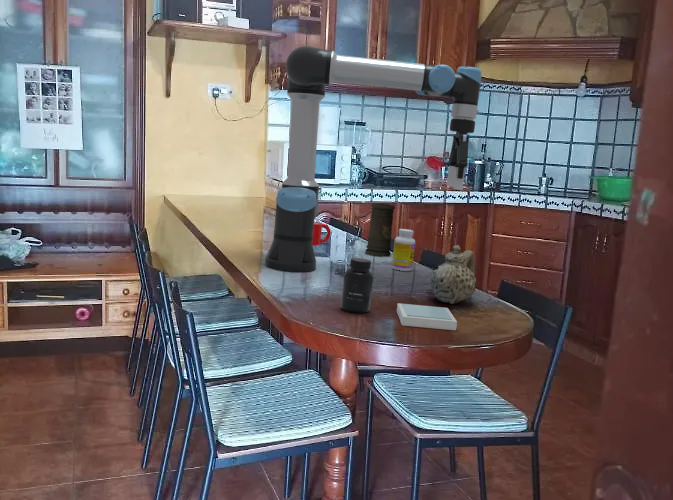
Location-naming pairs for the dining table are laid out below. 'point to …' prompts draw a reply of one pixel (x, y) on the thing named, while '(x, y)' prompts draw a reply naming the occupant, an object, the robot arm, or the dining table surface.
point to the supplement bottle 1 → (357, 286)
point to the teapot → (455, 277)
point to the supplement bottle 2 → (403, 251)
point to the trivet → (426, 316)
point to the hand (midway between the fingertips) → (454, 188)
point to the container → (380, 230)
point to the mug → (317, 233)
